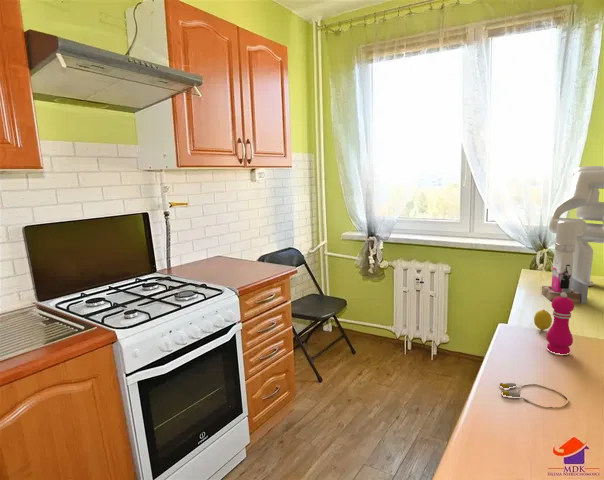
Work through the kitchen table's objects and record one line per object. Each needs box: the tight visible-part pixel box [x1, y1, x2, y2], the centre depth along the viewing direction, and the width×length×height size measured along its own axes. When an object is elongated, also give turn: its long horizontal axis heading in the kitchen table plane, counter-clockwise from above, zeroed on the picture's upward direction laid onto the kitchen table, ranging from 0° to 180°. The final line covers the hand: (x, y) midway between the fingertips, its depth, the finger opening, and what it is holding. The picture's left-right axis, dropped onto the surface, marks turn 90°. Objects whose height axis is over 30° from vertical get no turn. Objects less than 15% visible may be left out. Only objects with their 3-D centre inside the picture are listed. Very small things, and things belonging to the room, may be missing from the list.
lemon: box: [533, 309, 553, 331], centre depth 143 cm, size 6×6×8 cm
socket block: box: [541, 285, 581, 304], centre depth 179 cm, size 12×12×4 cm
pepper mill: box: [546, 292, 575, 354], centre depth 125 cm, size 7×7×20 cm
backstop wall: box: [571, 275, 590, 305], centre depth 178 cm, size 16×2×9 cm, turn 166°
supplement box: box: [550, 266, 572, 293], centre depth 178 cm, size 6×6×12 cm
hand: (561, 286), depth 178 cm, fingers closed on supplement box, 6 cm apart
